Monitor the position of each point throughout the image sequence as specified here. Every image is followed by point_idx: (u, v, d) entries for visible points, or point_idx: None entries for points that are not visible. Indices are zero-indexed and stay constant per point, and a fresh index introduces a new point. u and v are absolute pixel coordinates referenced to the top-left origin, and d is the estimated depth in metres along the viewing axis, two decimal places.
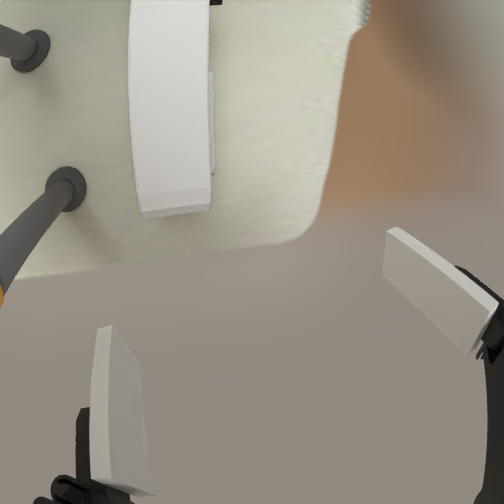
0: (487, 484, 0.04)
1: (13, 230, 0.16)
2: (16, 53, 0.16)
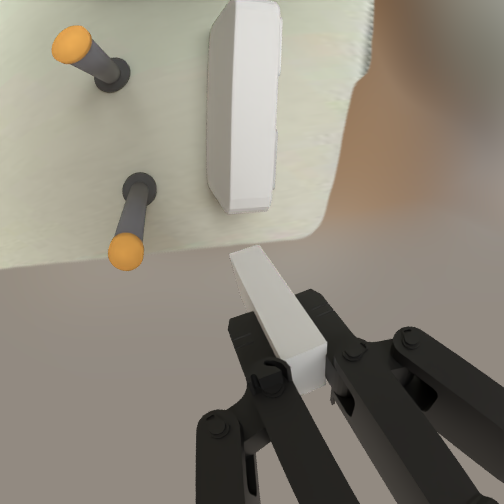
0: None
1: (134, 214, 0.31)
2: (110, 78, 0.31)
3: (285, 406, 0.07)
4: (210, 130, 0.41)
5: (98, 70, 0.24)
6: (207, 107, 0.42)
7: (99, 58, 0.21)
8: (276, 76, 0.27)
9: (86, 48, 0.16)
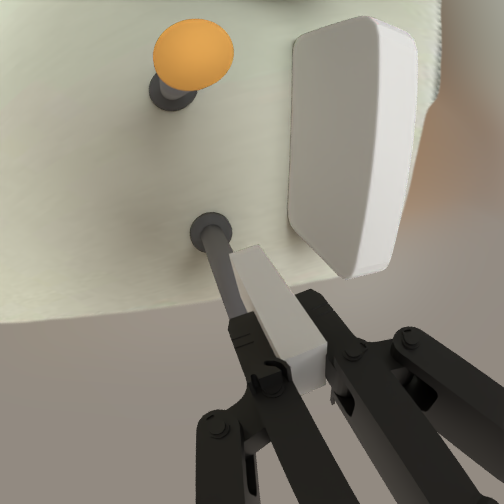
0: None
1: None
2: None
3: (285, 406, 0.07)
4: (302, 167, 0.36)
5: None
6: (293, 136, 0.37)
7: None
8: (413, 130, 0.22)
9: None
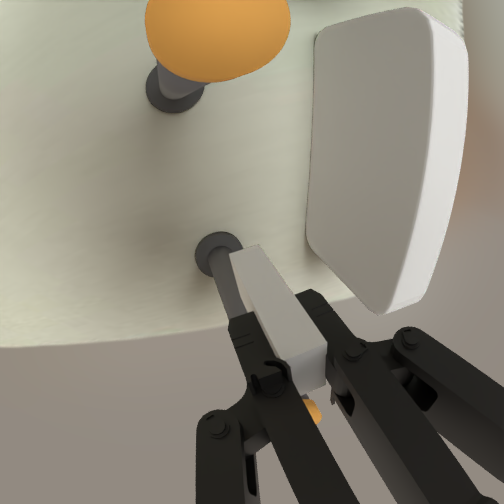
0: None
1: None
2: None
3: (285, 406, 0.07)
4: (326, 181, 0.31)
5: None
6: (314, 144, 0.32)
7: None
8: (462, 146, 0.17)
9: None
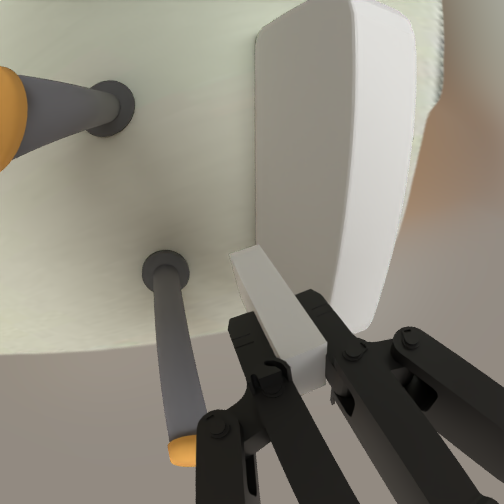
0: None
1: (184, 371, 0.20)
2: (103, 122, 0.20)
3: (285, 406, 0.07)
4: (267, 196, 0.30)
5: (76, 131, 0.13)
6: (257, 155, 0.31)
7: (70, 117, 0.10)
8: (409, 153, 0.16)
9: (9, 137, 0.05)
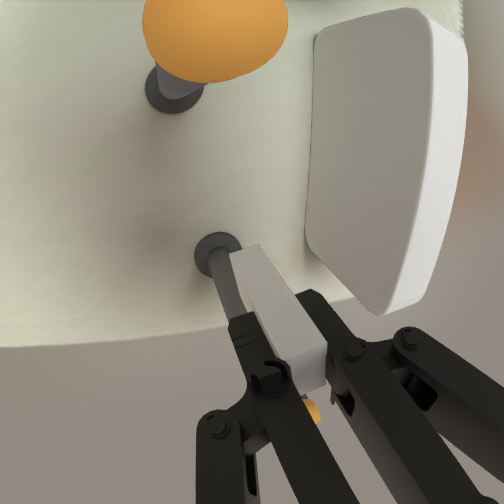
0: None
1: None
2: None
3: (285, 406, 0.07)
4: (326, 182, 0.31)
5: None
6: (314, 144, 0.32)
7: None
8: (462, 147, 0.17)
9: None
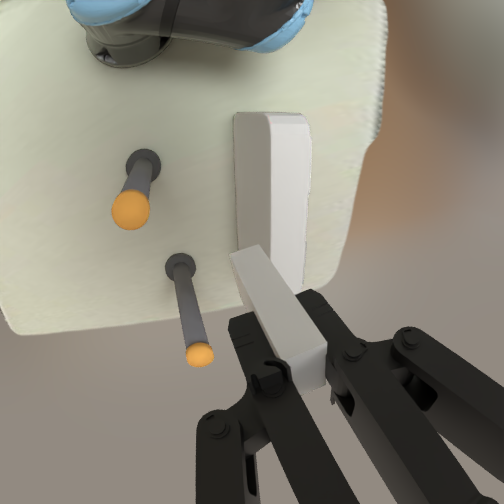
0: None
1: (195, 315, 0.40)
2: None
3: (285, 406, 0.07)
4: (242, 219, 0.50)
5: None
6: (236, 193, 0.51)
7: None
8: (306, 199, 0.36)
9: None
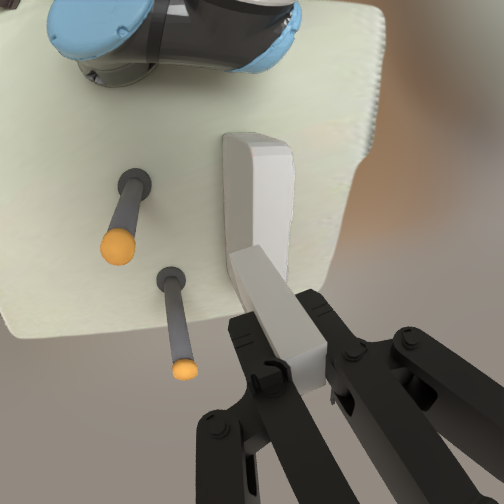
0: None
1: (181, 332, 0.42)
2: None
3: (285, 406, 0.07)
4: (229, 238, 0.52)
5: None
6: (225, 212, 0.53)
7: None
8: (288, 227, 0.38)
9: None
